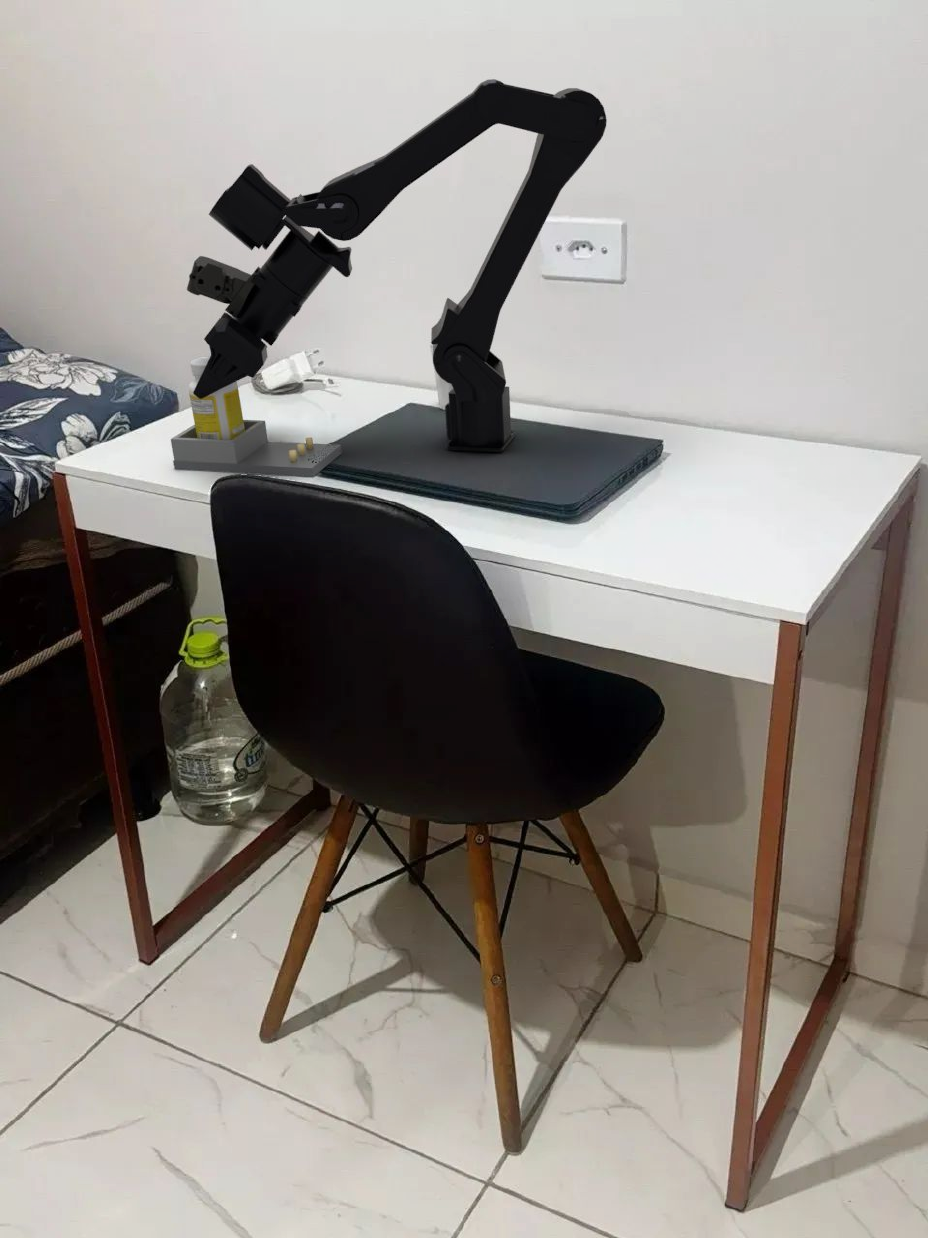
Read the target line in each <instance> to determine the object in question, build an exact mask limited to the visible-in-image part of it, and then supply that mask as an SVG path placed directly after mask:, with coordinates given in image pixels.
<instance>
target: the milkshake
mask: <svg viewBox="0 0 928 1238" xmlns="http://www.w3.org/2000/svg"><path fill="white" fill-rule="evenodd" d="M429 347H430V353H431V359H432V360H431V361H433V344H432V343H431V341H430V342H429ZM432 364H433V363H432ZM433 370H434V378H435V384H436V392H437V398H438V406H439V409H442V410H443V411H445V406H446V404H448V403H449V394H448V393H449V392H450V391H451V390H452V389H453V387H452V384H450V383H447V382H446V381H445V380H443V379H442V378H441V377H440V376H439V375H438V374H437V372H436V370H435V367H434V364H433Z"/></svg>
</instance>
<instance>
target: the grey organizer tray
mask: <svg viewBox="0 0 928 1238" xmlns="http://www.w3.org/2000/svg"><path fill="white" fill-rule="evenodd" d="M243 422H244V428H245V431H244V432H243V433H241V434H240V435H238V436H237V437H235V438H234V439H232V440H218V439H197V434H196V428H195V423H194V424H193V425H192V426H189V427H188V428H186V429H185V430H183V431H182V432H180V433H178V434H177V435H174V437H172V438H170V443H171V444H170V445H171V449H172V455H173V460H172V462H173V467H174V469H173V470H183V471H195V472H196V471H198V472H199V471H200V472H217V473H233V474H235V473H236V474H253V475H254V474H255V475H256V474H257V475H272V476H286V477H287V476H290V477H303V478H304V477H306V478H307V477H308V478H313V477H315V476H316V475H317V474H319V473H320V472H321V471H323V469H324V468H326V467H327V466H328V465H330V463H332V462H333V461H334V460H335V459H336V458H338V457H339V456H340V455H341V454H342V453H343V452H342V444H336V443H335V444H334V445H337V446H335V447H336V448H332V447H334V446H333V445H332V446H330V445H331V443H314V440H313V437H312V436H311V437H310V436H308V437H305V438H304V439H305V442H293V441H292V442H289V441H288V442H286V441H269V440H268V439H269V438H268V433H267V432H268V431H267V424H266V420H257V419H256V420H255V419H253V420H252V419H243ZM327 445H329V446H330V448H329V447H328V446H327ZM326 446H327V448H326ZM323 448H324V449H323ZM325 448H326V449H325ZM322 449H323V450H324V451H323V450H322ZM329 449H333V450H334V451H333V450H329ZM325 450H326V451H325ZM327 450H328V451H330V452H331V453H330V452H328V451H327ZM318 451H320V452H318ZM321 451H322V454H321ZM332 451H333V452H332ZM317 452H318V453H320V454H318V453H317ZM327 452H328V453H327ZM312 453H313V454H312ZM323 453H324V455H325V453H327V456H326V455H325V456H326V457H325V456H321V455H323ZM314 454H316V455H315V459H317V460H315V459H314V456H313V455H314ZM311 455H312V456H311ZM318 455H320V456H319V457H318ZM308 456H310V457H308ZM316 456H317V458H316ZM311 457H312V458H313V459H312V460H311V459H310V458H311ZM321 457H322V459H323V457H324V459H323V460H322V459H321ZM308 458H309V459H310V460H309V461H308ZM319 458H320V460H319ZM313 460H314V462H313V463H312V461H313ZM319 461H320V462H319ZM315 462H317V463H315Z"/></svg>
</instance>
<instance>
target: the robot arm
mask: <svg viewBox="0 0 928 1238" xmlns="http://www.w3.org/2000/svg"><path fill="white" fill-rule="evenodd" d="M607 120H608V119H607V115H606V111H605V107H604V105H603V104H602V102H601V101H600V99H599V98H598V97H596V96H595V95H594V94H593V93H591V92H588V91H586V90H583V89H580V88H577V87H568V88H564V89H562V90H559V91H557V92H556V93H555V94H554V93H553V94H552V93H548V92H544V91H539V90H534V89H530V88H526V87H525V88H524V87H519V86H515V85H511V84H507V83H506V84H505V83H503V82H502V81H501V80H499V79H494V78H493V79H486V80H484V81H482V82H480V83H479V84H478V85H477V86H476V87H475V89H474V90H473V91H472V92H471V93H470V94H468V95H466V96H465V97H464V98H463V99H461V100H460V101H458V102H457V103H455V104H454V105H453V106H451V107H450V108H449V109H447V110H446V111H444V112H443V113H442V114H440V115H438V116H437V117H436V118H435V119H433V120H432V121H431V122H429V123H428V124H427V125H425V126H424V127H422V128H421V129H420V130H418V131H417V132H415V133H414V134H413V135H411V136H409V137H408V138H407V139H406V140H404V141H402V142H401V143H400V144H399V145H397V146H396V147H394V148H393V149H392V150H390V151H389V152H387V153H386V154H384V155H382V156H380V157H378V158H376V159H374V160H371V161H369V162H367V163H365V164H362V165H359V166H357V167H355V168H353V169H351V170H349V171H347V172H345V173H342V174H340V175H339V176H335V177H334V178H332V179H331V180H329V181H328V182H327V183H326V184H325V185H324V186H323V187H322V188H321V190H320V191H316V192H312V193H308V194H304V195H302V194H299V195H298V196H296V197H292V198H291V199H290V198H289V197H288V196H287V195H286V194H285V193H283V192H282V191H281V190H280V189H278V187H276V186H275V185H274V184H273V183H272V182H270V180H268V178H266V176H265V175H264V174H263V173H262V171H261V170H260V169H259V168H258V167H256V166H255V165H254V164H250V163H249V164H248V165H247V166H246V167H245V169H244V170H243V171H242V173H241V174H240V175H239V176H238V177H237V178H236V179H235V180H234V182H233V183H232V185H230V186H229V187H228V188H227V189H225V190H224V191H223V193H222V194H221V196H220V197H219V198H218V199H217V201H216V202H215V204H214V205H213V207H212V208H211V210H210V211H209V213H208V216H209V217H211V218H212V219H213V220H214V221H216V222H217V223H218V224H219V225H220V226H222V227H223V228H224V230H227V231H228V233H230V234H231V235H233V236H234V237H235V238H236V239H237V240H239V242H240V243H242V244H243V245H244V246H245V247H247V248H248V249H249V250H251V251H253V250H254V249H255V248H257V249H258V250H260V248H262V249H264V250H265V251H266V250H268V248H269V247H270V246H271V244H272V243H273V242H274V240H275V239H276V238H277V237H278V235H279V234H280V233H281V232H282V230H283V229H284V227H286V228H287V229H288V230H289V231H288V232H287V234H286V235H285V236H284V238H283V239H282V240H281V241H280V243H279V244H278V245H277V247H276V248H275V249H274V251H273V252H272V253H271V254H270V256H269V257H268V258H267V260H265V262H264V263H263V265H262V266H261V267H260V266H257V267H256V268H255V269H254V271H253V273H252V274H250V273H247V272H245V271H243V270H241V269H239V268H237V267H235V266H232V265H228V264H226V263H223V262H221V261H218V260H216V259H213V258H210V257H208V256H204V255H199V256H198V257H197V258H196V259H195V260H194V263H193V265H192V269H191V273H189V277H188V278H189V280H188V284H187V287H186V291H187V292H189V293H190V294H193V295H195V296H203V297H205V298H208V299H210V300H213V301H216V302H220V303H223V304H227V307H226V308H225V309H224V311H226V312H223V313H222V315H221V316H220V317H219V319H218V320H217V321H216V322H215V324H214V325H213V326H212V328H211V329H210V330H209V332H208V333H207V334H206V335H205V337H204V338H203V340H204V341H205V342H206V344H207V345H208V346H209V350H210V355H209V356H210V358H209V360H208V362H207V365H206V367H205V369H204V371H203V373H202V375H201V377H200V379H199V381H198V383H197V385H196V387H195V389H194V392H193V393H194V395H195V396H197V397H198V398H199V399H202V398H204V397H206V396H208V395H210V394H212V393H214V392H216V391H218V390H220V389H222V388H224V387H226V386H228V385H230V384H232V383H234V382H239V381H240V380H242V379H244V378H246V377H249V378H251V379H253V378H254V377H255V376H256V375H257V373H259V372H260V370H261V369H262V368H263V366H264V364H265V362H266V361H267V358H268V351H267V350H268V349H267V348H268V345H269V346H272V345H273V344H274V343H275V342H276V340H277V339H278V337H279V336H280V334H281V332H282V331H283V330H284V329H285V327H286V326H287V325H288V324H289V323H290V321H291V320H292V319H293V317H294V318H295V317H296V315H298V314H299V312H300V311H301V309H302V307H303V305H304V304H305V302H306V301H307V300H308V299H309V297H311V295H312V294H313V292H314V291H315V290H316V289H317V287H318V286H319V285H320V284H321V283H322V281H323V280H324V278H325V277H326V276H327V275H328V274H329V272H330V271H331V270H332V269H333V268H334V269H336V271H337V272H339V273H340V274H341V275H342V276H343V277H345V278H349V277H350V276H351V273H352V272H353V271H352V270H353V267H352V261H351V253H352V247H350V246H345V247H340V246H337V244H335V243H334V242H333V241H332V240H331V239H333V240H337V241H341V242H347V241H351V240H353V239H355V238H357V237H359V236H360V235H361V234H362V233H364V231H365V230H366V229H367V228H368V227H369V226H370V225H371V224H372V223H373V222H374V221H375V220H376V219H377V218H378V217H379V216H380V215H381V214H382V213H383V212H384V211H385V209H387V208H388V206H389V205H390V204H391V203H392V202H393V201H394V199H395V198H397V196H398V195H399V194H400V193H401V192H402V191H403V190H404V189H405V188H407V187H409V186H410V185H411V184H413V183H414V182H415V181H417V180H419V178H421V177H422V176H424V175H425V174H427V173H428V172H430V171H431V170H433V168H435V167H437V166H438V165H439V164H441V163H443V162H444V161H445V160H447V159H448V158H449V157H451V156H452V155H453V154H455V153H456V152H458V151H459V150H460V149H462V148H463V147H465V146H467V145H468V144H469V143H470V142H472V141H474V139H476V138H477V137H479V136H480V135H481V134H483V133H484V132H486V131H487V130H488V129H490V128H491V127H493V126H495V125H498V124H499V125H503V126H507V127H511V128H516V129H519V130H524V131H527V132H531V133H534V134H537V135H536V139H535V143H534V146H533V147H534V148H533V150H532V155H531V159H530V164H529V167H528V170H527V172H526V175H525V176H524V179H523V181H522V183H521V185H520V187H519V189H518V191H517V193H516V195H515V197H514V199H513V201H512V203H511V205H510V208H509V209H508V211H507V213H506V215H505V218H504V219H503V221H502V223H501V226H500V227H499V230H498V232H497V233H496V236H495V238H494V240H493V242H492V245H491V246H490V248H489V250H488V252H487V255H486V257H485V258H484V261H483V262H482V264H481V267H480V269H479V270H478V273H477V274H476V277H475V278H474V281H473V283H472V285H471V286H470V289H469V290H468V291H467V293H466V294H465V295H464V296H463V297H462V298H461V300H460V301H459V302H458V303H456V302H454V301H453V300H452V299H451V298H449V297H447V298H446V300H445V304H444V305H443V310H442V313H441V316H440V318H439V319H438V322H437V323H436V324H434V325H433V326H432V327H431V333H430V334H431V335H430V336H431V340H430V342H431V343H432V344H433V360H432V364H434V366H433V368H434V367H435V370H436V372H437V374H438V375H439V376H440V377H441V378H442V379H443V380H445V381H446V382H447V383H450V384H452V387H453V389H452V390H451V391H450V392H449V393H448V394H449V403H448V404H446V406H445V410H444V412H445V413H444V415H445V428H446V429H445V430H446V439H447V441H449V442H448V443H447V444H446V450H449V451H464V452H466V451H467V452H486V453H487V452H489V453H492V452H493V453H500V452H501V453H502V452H503V451H504V450H505V449H506V447H507V446H508V445H509V444H510V443H511V442H512V440H513V439H514V438H515V437H516V431H515V430H512V427H511V426H512V423H511V420H512V419H511V402H510V401H511V398H510V397H511V395H510V386H506V384H507V380H506V375H505V369H504V364H503V361H502V360H501V359H500V358H499V357H497V355H495V353H493V352H492V351H491V348H492V344H493V341H494V336H495V333H496V330H497V324H498V321H499V316H500V313H501V310H502V308H503V306H504V304H505V302H506V300H507V297H508V296H509V294H510V292H511V290H512V288H513V286H514V284H515V282H516V280H517V278H518V276H519V274H520V272H521V270H522V268H523V267H524V264H525V262H526V260H527V259H528V256H529V254H530V252H531V250H532V248H533V247H534V244H535V242H536V240H537V239H538V236H539V235H540V232H541V231H542V228H543V227H544V225H545V223H546V220H548V219H547V218H548V216H549V215H550V213H551V210H552V208H553V206H554V205H555V203H556V200H557V199H558V197H559V195H560V193H561V191H562V189H563V188H564V187H565V186H566V184H567V183H568V182H569V181H570V180H571V179H572V177H573V176H574V175H575V174H576V173H577V172H578V170H580V168H581V167H582V166H583V164H584V163H585V162H586V160H587V159H588V158H589V156H590V155H591V154H592V152H593V151H594V149H595V148H596V147H597V145H598V144H600V143H599V142H601V140H602V138H603V136H604V134H605V131H606V128H607ZM304 227H305V228H312V229H319V230H318V231H317V232H316V233H315V234H314V235H313V234H312V233H311V232H310V231H308V230H307V229H305V228H304ZM321 231H322V232H321ZM323 233H324V234H323ZM329 238H331V239H329ZM265 342H266V343H267V344H268V345H266V343H265Z"/></svg>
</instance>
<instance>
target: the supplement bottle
mask: <svg viewBox="0 0 928 1238" xmlns="http://www.w3.org/2000/svg"><path fill="white" fill-rule="evenodd" d="M210 356H211V355H209V356H203V357H198V358H195V359H193V360H191V361H190V368H191V373H192V376H193V377H194V379H193V380H192V381H191V382H190V383H189V385H188V394H189V401H190V407H191V410H192V411H191V412H192V417H193V423H194V424H195V428H196V434H197V439H218V440H232V439H234V438H235V437H237V436H238V435H240V434H241V433H243V432H244V431H245V428H244V422H243V420H244V417H243V411H242V403H241V398H240V392H239V384H238V381H236V382H234V383H232V384H230V385H228V386H226V387H224V388H222V389H220V390H218V391H216V392H214V393H212V394H210V395H208V396H206V397H204V398H202V399H199V398H198V397H197V396H195V395H194V393H193V392H194V389H195V387H196V385H197V383H198V381H199V379H200V377H201V375H202V373H203V371H204V369H205V367H206V365H207V362H208V360H209V358H210Z"/></svg>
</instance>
